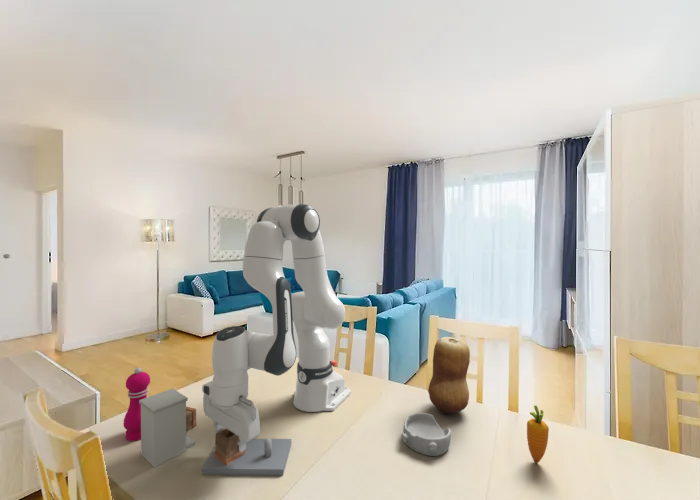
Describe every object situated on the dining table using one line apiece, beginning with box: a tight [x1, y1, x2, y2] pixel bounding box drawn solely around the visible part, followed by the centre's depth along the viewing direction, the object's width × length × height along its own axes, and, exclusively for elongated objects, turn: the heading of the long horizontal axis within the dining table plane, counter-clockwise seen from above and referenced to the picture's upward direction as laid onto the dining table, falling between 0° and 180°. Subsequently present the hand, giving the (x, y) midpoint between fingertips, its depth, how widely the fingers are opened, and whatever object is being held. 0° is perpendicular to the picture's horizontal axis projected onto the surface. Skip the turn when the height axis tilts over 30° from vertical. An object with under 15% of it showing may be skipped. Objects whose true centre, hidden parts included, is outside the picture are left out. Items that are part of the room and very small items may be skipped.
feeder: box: [139, 388, 196, 468], centre depth 88 cm, size 11×9×15 cm
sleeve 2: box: [214, 428, 245, 465], centre depth 84 cm, size 6×6×6 cm
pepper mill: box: [123, 367, 151, 442], centre depth 94 cm, size 7×7×20 cm
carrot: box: [526, 404, 550, 464], centre depth 86 cm, size 5×5×15 cm
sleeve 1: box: [186, 406, 197, 433], centre depth 98 cm, size 6×6×5 cm
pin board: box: [201, 438, 292, 476], centre depth 86 cm, size 12×20×6 cm, turn 91°
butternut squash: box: [427, 336, 471, 414], centre depth 111 cm, size 14×13×25 cm
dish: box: [401, 412, 452, 457], centre depth 94 cm, size 14×14×5 cm
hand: (230, 442), depth 84 cm, fingers open, 8 cm apart
